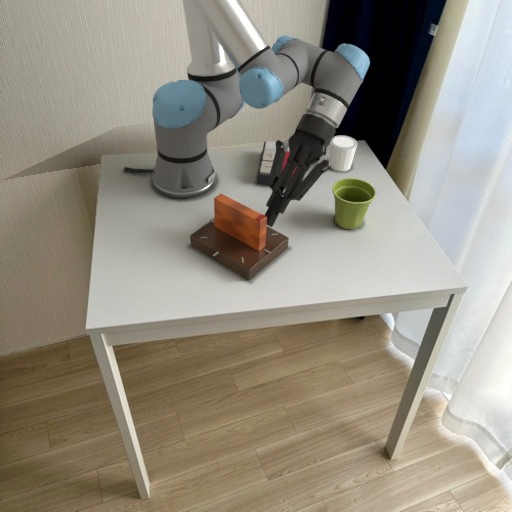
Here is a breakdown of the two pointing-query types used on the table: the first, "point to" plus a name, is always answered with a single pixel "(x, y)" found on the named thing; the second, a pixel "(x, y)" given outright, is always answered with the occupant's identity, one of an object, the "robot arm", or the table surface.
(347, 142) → the white fluted cup
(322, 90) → the robot arm
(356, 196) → the plant pot
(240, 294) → the table surface
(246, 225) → the pointer
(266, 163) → the calculator
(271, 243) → the dial panel
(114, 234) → the table surface
